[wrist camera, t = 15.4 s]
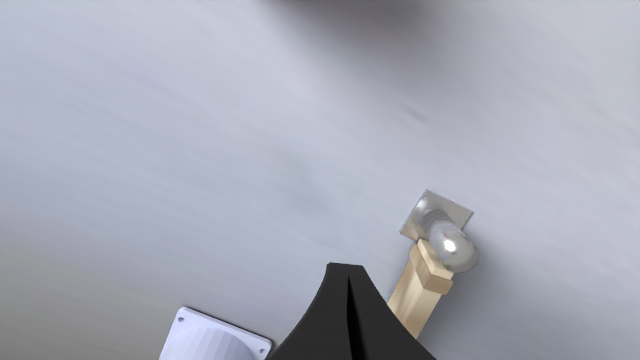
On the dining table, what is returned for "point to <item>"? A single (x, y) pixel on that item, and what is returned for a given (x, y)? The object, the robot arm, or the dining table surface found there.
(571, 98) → the dining table surface
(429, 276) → the wooden capped beam
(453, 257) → the chrome post on plate
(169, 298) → the dining table surface
